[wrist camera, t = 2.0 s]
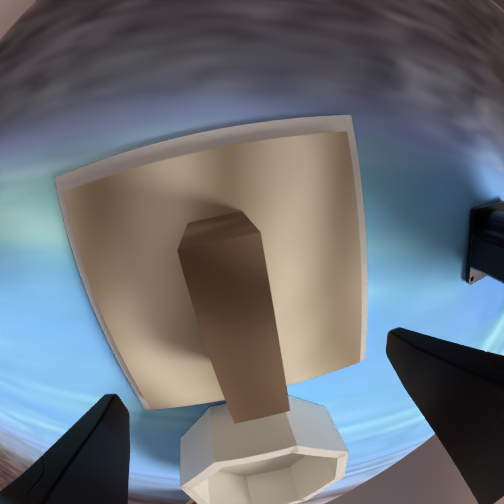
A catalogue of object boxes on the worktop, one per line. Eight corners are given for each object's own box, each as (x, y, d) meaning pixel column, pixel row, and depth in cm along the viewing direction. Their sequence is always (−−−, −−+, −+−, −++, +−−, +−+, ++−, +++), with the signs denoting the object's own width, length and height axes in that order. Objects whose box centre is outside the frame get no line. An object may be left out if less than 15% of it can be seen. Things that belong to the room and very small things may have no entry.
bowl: (325, 378, 18) (352, 426, 13) (325, 453, 22) (341, 489, 17) (164, 412, 17) (159, 466, 12) (209, 478, 21) (213, 517, 16)
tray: (346, 116, 13) (351, 114, 13) (362, 355, 18) (365, 359, 18) (58, 177, 12) (54, 177, 11) (146, 405, 17) (145, 409, 16)
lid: (338, 133, 13) (403, 119, 8) (353, 353, 17) (393, 405, 12) (72, 190, 12) (8, 204, 6) (153, 399, 16) (144, 464, 11)
